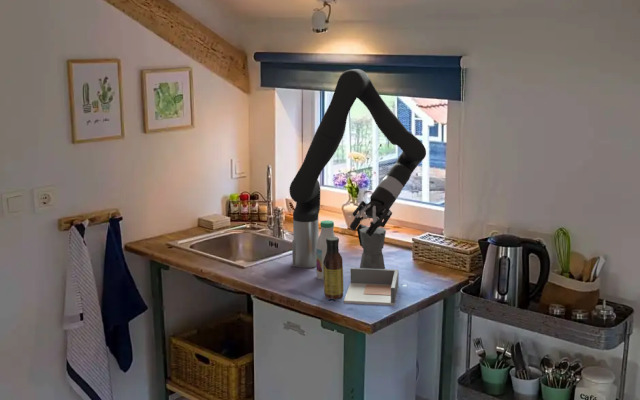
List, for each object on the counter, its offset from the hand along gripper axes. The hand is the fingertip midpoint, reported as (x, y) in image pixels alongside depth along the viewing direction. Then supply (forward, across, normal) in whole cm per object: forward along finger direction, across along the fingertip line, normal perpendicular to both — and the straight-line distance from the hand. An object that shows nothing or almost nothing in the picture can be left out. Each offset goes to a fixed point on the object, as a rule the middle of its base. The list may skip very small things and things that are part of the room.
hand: (359, 231), depth 238 cm
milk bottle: (+15, -17, +14) cm, 26 cm away
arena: (+14, +6, +14) cm, 21 cm away
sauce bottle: (+22, 0, +7) cm, 23 cm away
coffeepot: (+3, -14, +26) cm, 29 cm away
